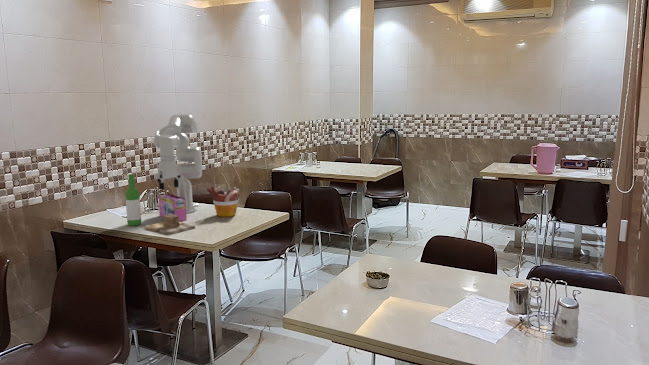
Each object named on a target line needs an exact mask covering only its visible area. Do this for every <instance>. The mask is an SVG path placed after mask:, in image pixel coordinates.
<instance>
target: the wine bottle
mask: <svg viewBox="0 0 649 365" xmlns="http://www.w3.org/2000/svg"><path fill="white" fill-rule="evenodd" d="M127 176H128V188H127V189H126V192H125V195H124V196H125V209H126V222H127V225H128V226H129V227H130V226H131V227H136V226H139V225H141V224H142V210H141V198H140V192H139V190H138V189H137V188H136V187H135V174H132V173H131V174H130V173H129V174H128V175H127Z"/></svg>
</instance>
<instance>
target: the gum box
mask: <svg viewBox="0 0 649 365" xmlns="http://www.w3.org/2000/svg"><path fill="white" fill-rule="evenodd" d="M168 214H172V215H176V216H179V222H183V221H187V220H188V219H187V213H186V199H185V198H182V197H178V196H177V195H174V194H172V193H166V194H163V195H160V194H158V215H159V216H160V217H161V218H163V216H164V215H168Z"/></svg>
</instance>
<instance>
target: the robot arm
mask: <svg viewBox="0 0 649 365" xmlns="http://www.w3.org/2000/svg"><path fill="white" fill-rule="evenodd" d="M198 128H199V126H198V122H197V120H196V119H195V117H194V116H193V115H191V114H173V115H172V116H170V118H169V121H168V123H167V125H165V126H164V127H161V128H159V129H158V130H157V131H156V132H155V134H154V138H153V146H154V147H155V148H157V149H159V156H160V161H159V162H158V168H157V169H158V170H157V173H156V174H155V175H154V178H155V180H156V181H157V183H158V184H159V186H158V187H159V190H161V191H164V190H165V183H164V182H165V180H168V179H169V180H170V179H173V186H174V188H176V196H178V197H182V198H185V199H186V214H190V213H194V212H196V208H197V207H200V205H199V203H193V186H192V183H191V181H190V180H189V179H201V177H202V175H203V161H202V160H203V158H202V157H203V156H202V150H201V148H200V147H199V146H190V139H189V137H188V136H187V134H196V133H197V132H198V131H199V130H198ZM176 160H177V161H178V162H182V163H179V164H177V162H176ZM183 162H184V163H183ZM185 162H187V163H185ZM188 162H189V163H188ZM190 162H193V163H190Z"/></svg>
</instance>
